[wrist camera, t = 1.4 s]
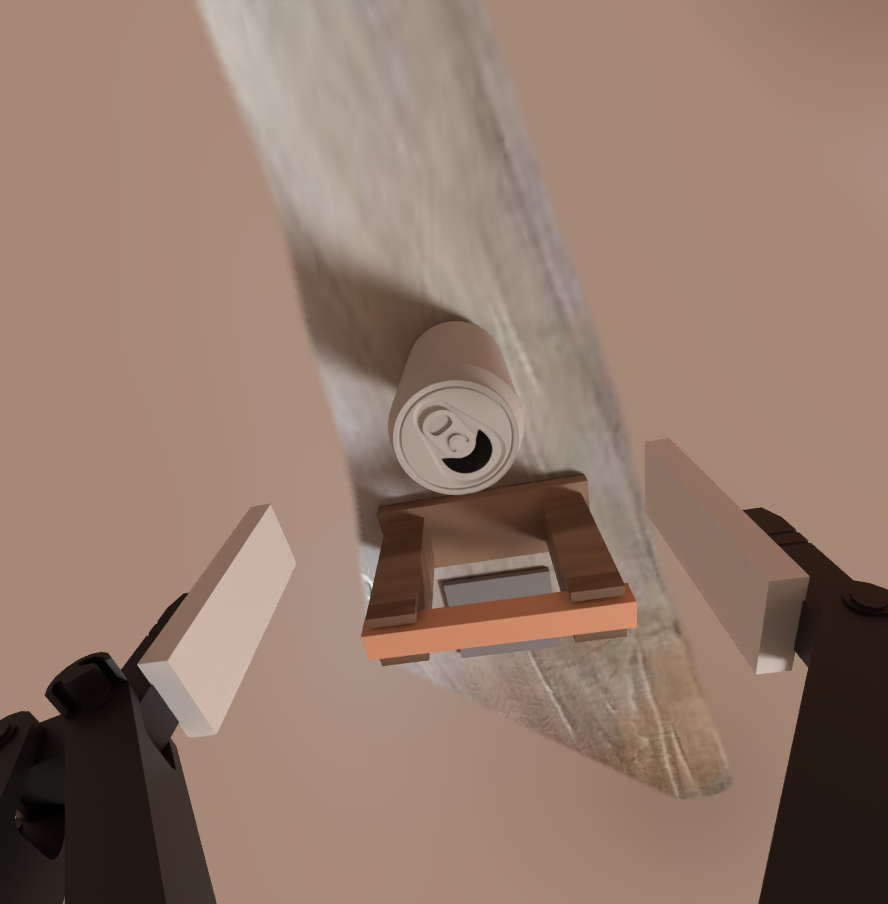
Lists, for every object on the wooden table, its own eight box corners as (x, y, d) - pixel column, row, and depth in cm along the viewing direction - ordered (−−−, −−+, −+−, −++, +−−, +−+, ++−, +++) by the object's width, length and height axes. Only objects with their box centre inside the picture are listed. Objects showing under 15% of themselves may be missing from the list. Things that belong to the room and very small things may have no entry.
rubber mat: (443, 582, 40) (443, 586, 39) (548, 567, 39) (549, 571, 38) (462, 653, 43) (462, 658, 43) (557, 641, 43) (558, 646, 42)
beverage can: (451, 427, 33) (451, 526, 22) (388, 362, 31) (354, 437, 20) (522, 369, 31) (558, 447, 20) (459, 296, 29) (462, 340, 18)
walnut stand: (378, 506, 36) (352, 609, 27) (583, 474, 35) (634, 570, 25) (397, 565, 39) (378, 677, 29) (588, 537, 37) (635, 646, 28)
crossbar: (365, 617, 29) (360, 637, 27) (627, 582, 27) (636, 601, 26) (373, 640, 29) (369, 660, 28) (627, 607, 28) (636, 627, 26)
